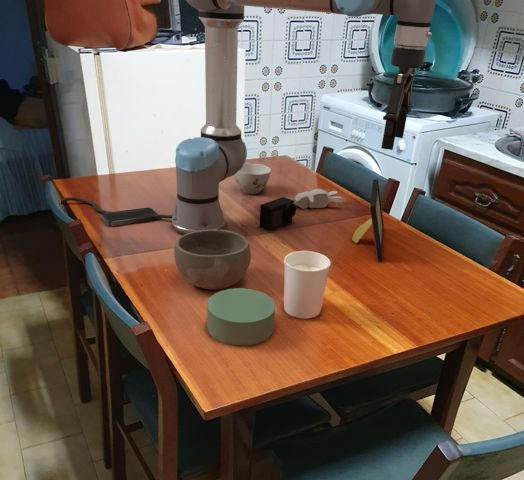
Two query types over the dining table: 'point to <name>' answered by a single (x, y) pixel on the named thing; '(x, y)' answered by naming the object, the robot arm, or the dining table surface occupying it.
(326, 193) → the bunny figurine
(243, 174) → the teacup
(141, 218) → the phone
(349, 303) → the dining table surface
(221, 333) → the stand
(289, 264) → the candle holder
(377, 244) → the picture frame
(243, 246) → the bowl
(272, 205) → the digital camera
